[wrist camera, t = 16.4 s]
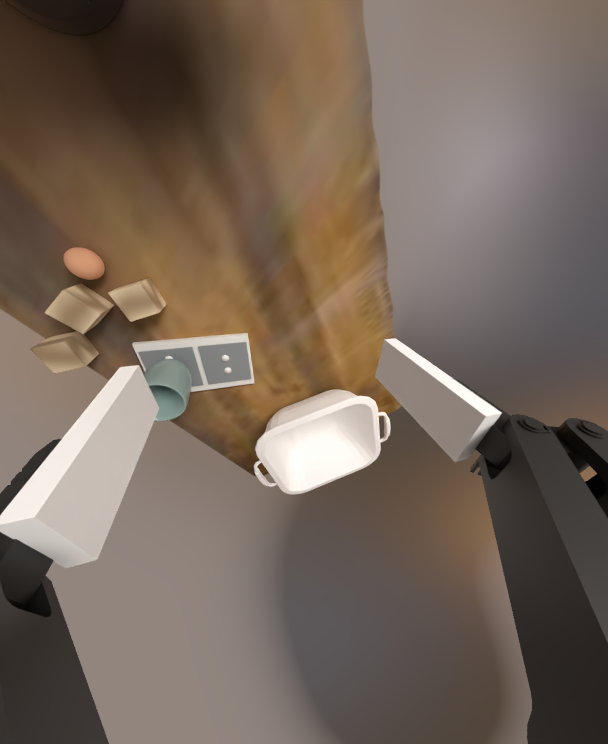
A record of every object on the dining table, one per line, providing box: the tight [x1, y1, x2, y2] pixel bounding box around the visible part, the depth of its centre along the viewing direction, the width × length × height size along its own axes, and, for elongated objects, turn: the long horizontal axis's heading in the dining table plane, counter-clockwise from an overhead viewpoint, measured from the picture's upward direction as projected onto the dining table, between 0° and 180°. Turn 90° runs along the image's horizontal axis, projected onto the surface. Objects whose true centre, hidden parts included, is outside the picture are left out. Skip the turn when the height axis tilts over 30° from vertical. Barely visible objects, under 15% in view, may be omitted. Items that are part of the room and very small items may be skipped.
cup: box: [143, 359, 192, 421], centre depth 38 cm, size 8×8×10 cm
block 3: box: [108, 277, 167, 322], centre depth 34 cm, size 4×4×4 cm
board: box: [132, 333, 254, 392], centre depth 44 cm, size 12×20×1 cm, turn 89°
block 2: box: [30, 331, 99, 373], centre depth 35 cm, size 4×4×4 cm
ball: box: [64, 247, 105, 280], centre depth 30 cm, size 4×4×4 cm
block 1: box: [45, 283, 114, 334], centre depth 32 cm, size 4×4×4 cm
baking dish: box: [254, 390, 390, 494], centre depth 57 cm, size 34×28×13 cm
